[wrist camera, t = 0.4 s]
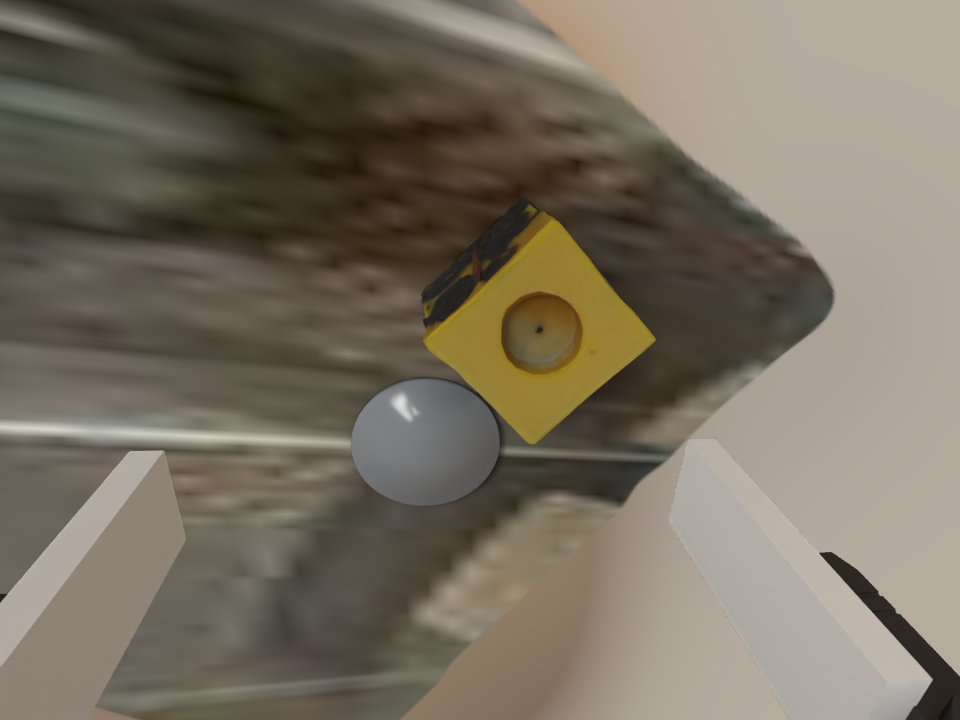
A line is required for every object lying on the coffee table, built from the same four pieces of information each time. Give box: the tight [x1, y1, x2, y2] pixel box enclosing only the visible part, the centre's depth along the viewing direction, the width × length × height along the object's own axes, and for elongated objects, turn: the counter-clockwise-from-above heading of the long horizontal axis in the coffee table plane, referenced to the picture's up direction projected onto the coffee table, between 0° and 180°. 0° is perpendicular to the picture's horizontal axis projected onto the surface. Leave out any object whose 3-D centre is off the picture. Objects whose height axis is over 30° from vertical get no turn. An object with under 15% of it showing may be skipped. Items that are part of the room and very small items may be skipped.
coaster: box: [351, 377, 500, 506], centre depth 43 cm, size 12×12×1 cm
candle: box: [421, 198, 656, 445], centre depth 34 cm, size 10×10×10 cm
